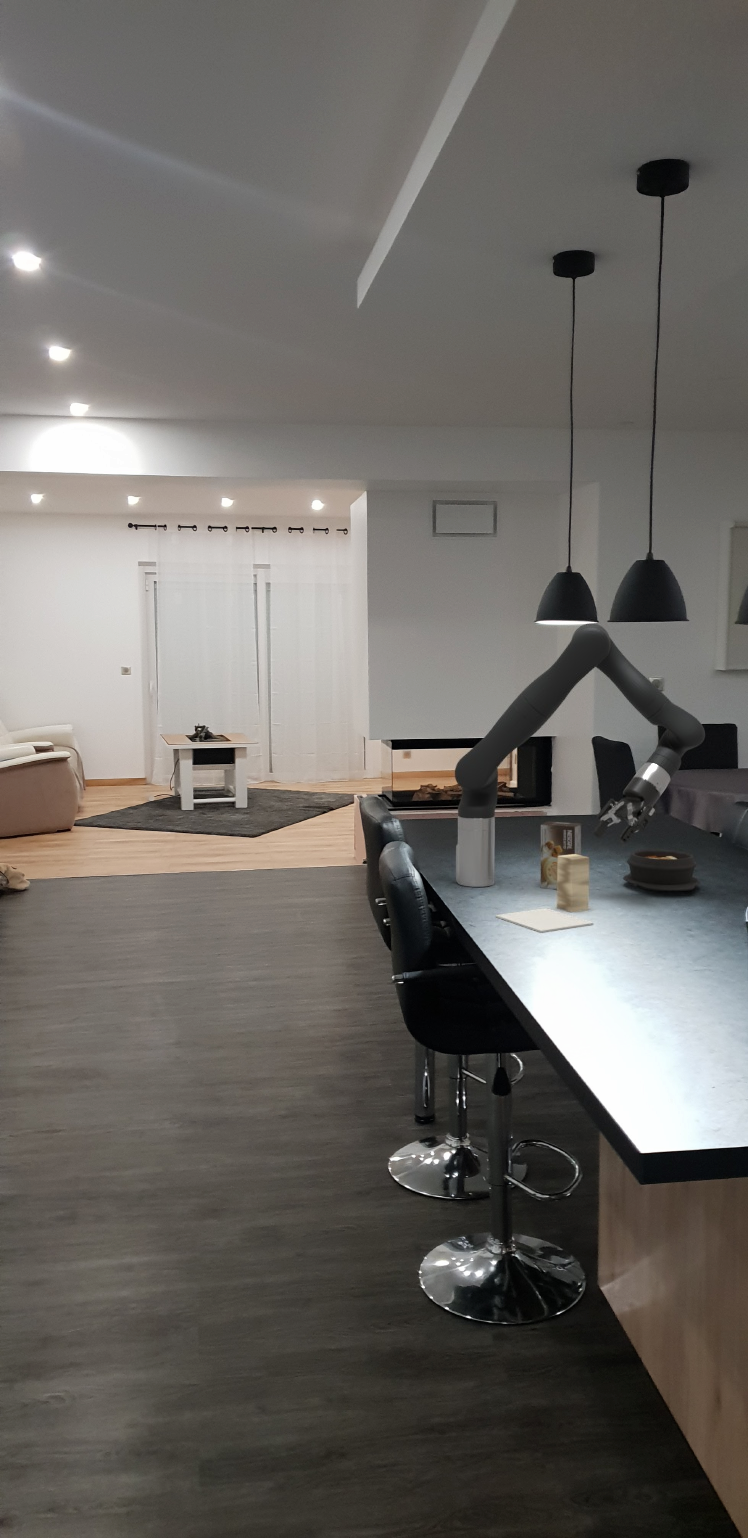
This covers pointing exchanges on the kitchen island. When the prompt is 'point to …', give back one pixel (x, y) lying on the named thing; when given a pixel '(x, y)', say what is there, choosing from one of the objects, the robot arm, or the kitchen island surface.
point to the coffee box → (557, 848)
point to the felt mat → (544, 920)
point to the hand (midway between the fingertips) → (608, 838)
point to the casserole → (662, 870)
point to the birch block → (573, 883)
